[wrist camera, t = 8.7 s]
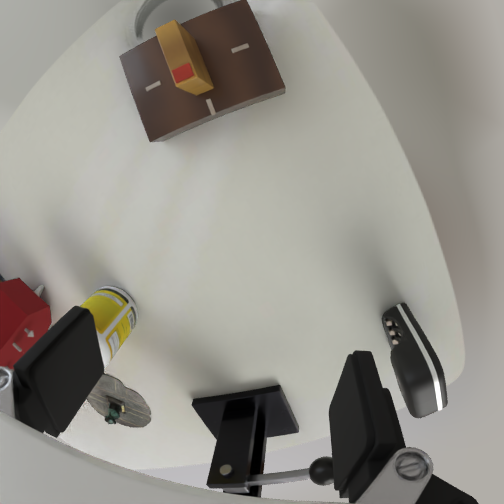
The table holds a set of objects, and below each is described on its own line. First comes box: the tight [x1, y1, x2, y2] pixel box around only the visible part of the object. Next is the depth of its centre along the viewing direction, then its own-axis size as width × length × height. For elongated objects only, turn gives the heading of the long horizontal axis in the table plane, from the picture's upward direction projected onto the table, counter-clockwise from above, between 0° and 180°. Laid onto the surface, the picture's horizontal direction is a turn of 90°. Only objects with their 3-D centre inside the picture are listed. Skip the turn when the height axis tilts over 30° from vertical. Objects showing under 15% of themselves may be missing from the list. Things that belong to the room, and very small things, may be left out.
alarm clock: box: [0, 278, 51, 372], centre depth 28 cm, size 15×9×20 cm, turn 144°
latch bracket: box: [192, 385, 299, 498], centre depth 33 cm, size 12×9×13 cm
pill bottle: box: [80, 286, 138, 368], centre depth 29 cm, size 6×6×11 cm
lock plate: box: [119, 0, 285, 142], centre depth 23 cm, size 12×9×3 cm
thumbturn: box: [155, 20, 214, 96], centre depth 20 cm, size 5×2×5 cm, turn 20°
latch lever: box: [222, 457, 334, 493], centre depth 27 cm, size 13×3×3 cm, turn 110°
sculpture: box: [87, 374, 151, 427], centre depth 41 cm, size 12×9×8 cm
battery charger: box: [382, 303, 448, 418], centre depth 26 cm, size 7×4×11 cm, turn 28°
